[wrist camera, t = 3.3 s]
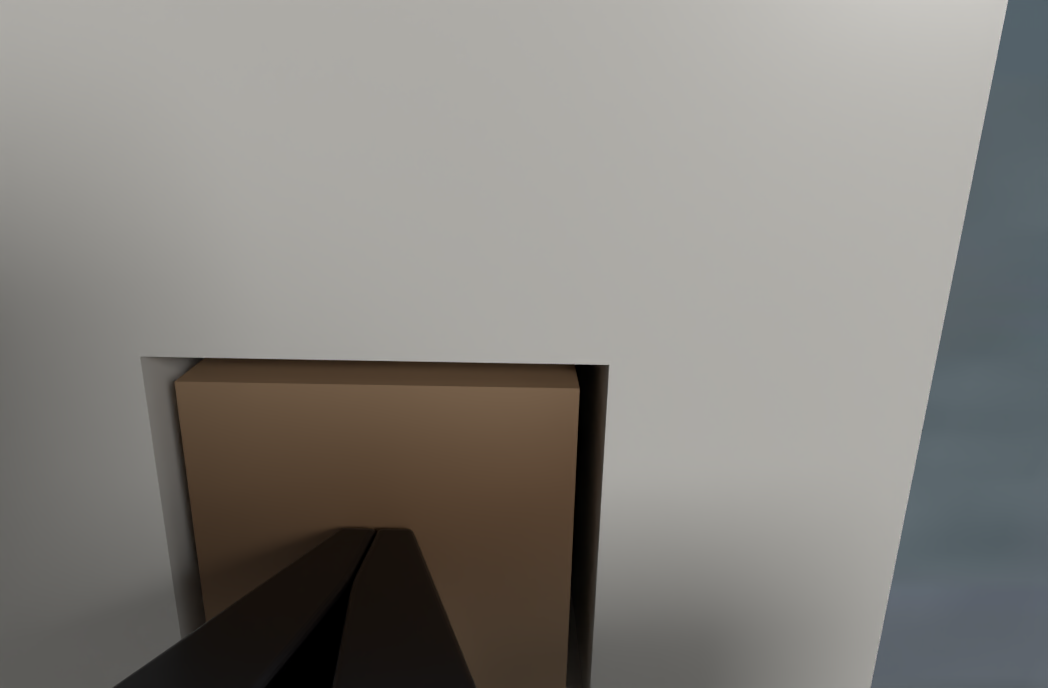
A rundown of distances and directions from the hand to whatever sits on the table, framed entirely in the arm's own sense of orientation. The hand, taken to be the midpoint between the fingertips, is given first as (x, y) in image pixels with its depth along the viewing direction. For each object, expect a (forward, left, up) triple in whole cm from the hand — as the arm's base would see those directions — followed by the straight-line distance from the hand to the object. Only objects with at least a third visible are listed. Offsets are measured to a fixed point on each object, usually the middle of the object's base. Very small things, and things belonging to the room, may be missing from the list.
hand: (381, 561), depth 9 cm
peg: (0, 0, -5) cm, 5 cm away
